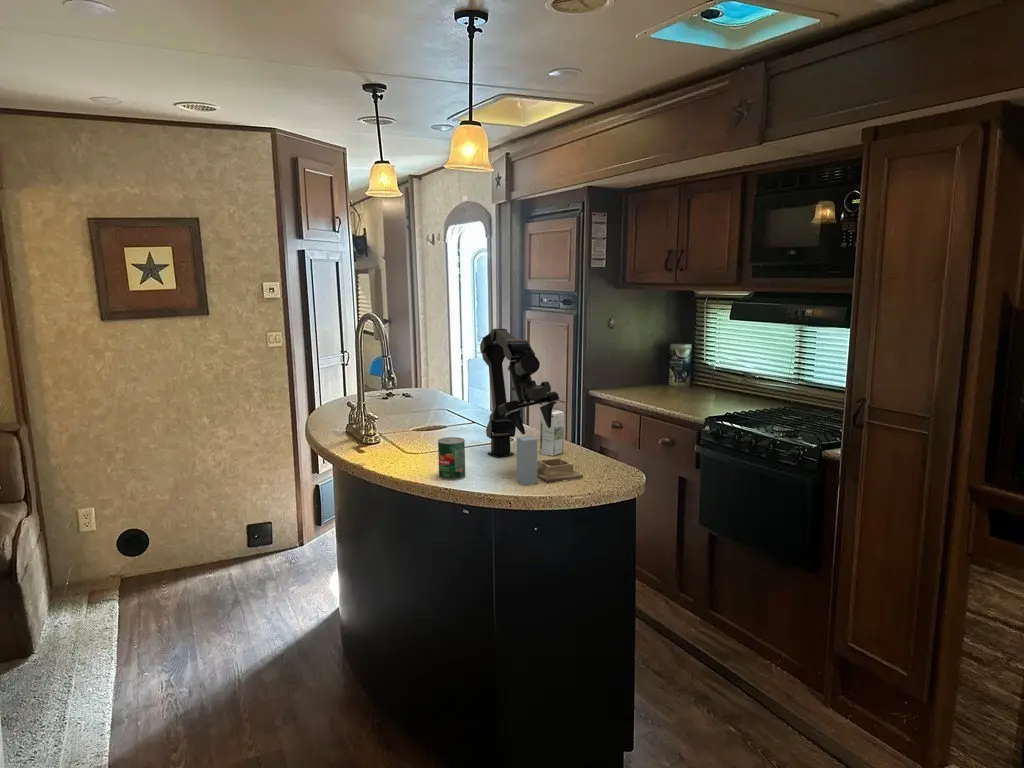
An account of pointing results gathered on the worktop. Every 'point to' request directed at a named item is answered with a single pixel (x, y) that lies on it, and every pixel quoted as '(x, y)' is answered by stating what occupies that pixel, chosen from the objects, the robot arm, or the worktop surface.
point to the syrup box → (552, 434)
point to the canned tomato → (451, 458)
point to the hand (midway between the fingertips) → (536, 431)
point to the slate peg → (527, 460)
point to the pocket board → (556, 470)
